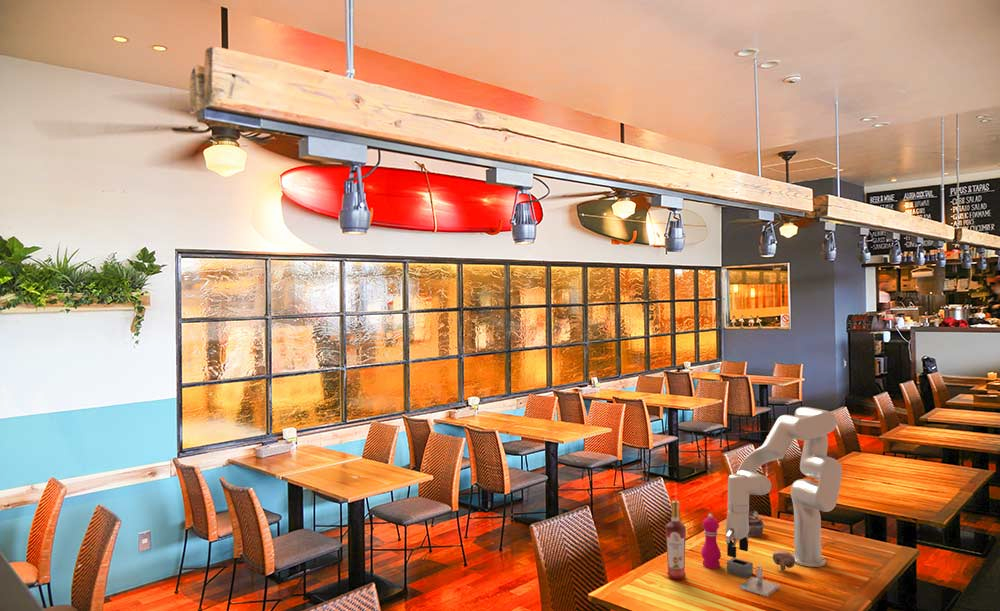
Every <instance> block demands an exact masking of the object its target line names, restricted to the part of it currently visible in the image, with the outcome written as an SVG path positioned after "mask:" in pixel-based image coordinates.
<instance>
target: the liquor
mask: <svg viewBox="0 0 1000 611" xmlns="http://www.w3.org/2000/svg"><path fill="white" fill-rule="evenodd" d="M670 504H671V521H669V522H668V523H666V524H665V541H666V542H665V543H666V554H667V571H666V575H667V576H668V577H669V578H670V579H671V578H672V580H675V581H679V580H682V579H684V578H685V577H686V576H687V573H686V572H685V570H686V569H685V567H686V566H685V561H686V557H685V556H686V534H687V533H686V530H687V529H686V528H687V527H686V525H684V524H683V523H682V522H680V513H679V509H680V501H678V500H671V503H670Z"/></svg>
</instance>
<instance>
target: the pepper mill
mask: <svg viewBox="0 0 1000 611" xmlns="http://www.w3.org/2000/svg"><path fill="white" fill-rule="evenodd" d="M702 527H703V529H704V530H703V534H704V535H705V536H704V537H705V540H704V543H703V546H702V548H701V557H702V558H703V559H702V566H704V567H705V568H707V569H710V570H711V569H714V570H715V569H719V568H720V566H721V563H720V559H721V557H722V552H721V549H720V547H719V545H718V542H717V536H718V530H719V527H720V525H719V522H718V520H717V519H716V518H714V516H713V514H712V513H709V514H708V515H707V517H705V518H704V519H703V521H702Z"/></svg>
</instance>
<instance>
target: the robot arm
mask: <svg viewBox="0 0 1000 611" xmlns="http://www.w3.org/2000/svg"><path fill="white" fill-rule="evenodd" d="M837 425H838V420H837V416H836V415H835V414H834V413H833V412H831V411H830V410H829V411H828V410H825V409H820V408H815V407H814V408H813V407H810V406H809V407H808V406H800V407H798V408H796V410H795V412H794V415H791V414H782V415H780V416H779V417H778V418H777V419H776V421H775V422H774V424H773V425H772V427H771V429H770V430H769V433H768V435H767V437H766V439H765V440H764V442H763V443H762V445H761V446H759V447H758V448H756V449H754V450H753V451H752V452H750V453H749V454H748V455H747V456H745V458H744V459H743V460H742V461H741V464H740V465H739V467H738V468H737V471H736V473H731V474H729V475H728V477H727V516H726V520H725V539H726V547H727V549H726V550H727V552H726V555H727V557H730V558H737V546H736V545H737V542H738V541H739V542H738V544H739V546H738V549H739V550H741V551H744V552H749V540H750V539H749V537H750V536H748V535H749V529H750V527H749V520H748V513H749V511H750V495H755V496H764V495H766V494H769V492H770V491H771V489H772V481H771V480H770V479H769V478H768V477H767V476H766V475H763V474H760V473H758V472H757V471H758V469H759V468H760V467H761V466H763V465H764V464H767V463H769V462H773V461H777V460H781V459H783V458H784V457H785V456H786V453H787V452H788V450H789V448H790V447H791V445H792V443H793V441H794V440H795V439H796V440H798V441H804V442H803V446H802V452H801V457H800V461H799V470H800V472H801V473H802V474H803V475H805V476H806V477H809V478H812V479H815V480H818V482H816V481H812V480H810V479H806V478H803V479H802V478H800V479H797V480H795V481H793V483H792V484H791V487H790V498H791V500H792V506H793V524H794V525H793V532H794V533H793V536H794V538H793V540H794V543H793V544H794V547H793V548H794V552H793V553H791V554H792V555H793V557H794V558H795V564H797V565H800V566H804V567H809V568H819V567H824V566H826V564H827V560H826V558H824V557H823V556H822V550H823V547H822V529H821V528H822V524H821V523H822V518H821V513H820V511H822V512H826V513H828V512H831V511H832V510H834V508H835V507H836V505H837V502H838V498H839V494H840V488H841V483H842V478H843V469H842V465H841V463H840V462H839V461H838V460H837V459H835V458H833V457H831V456H827V454H828V449H829V448H828V447H829V440H828V435H829V434H830V433H832V432H833V431H834V430H835V429H836V427H837ZM827 434H828V435H827Z"/></svg>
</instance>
